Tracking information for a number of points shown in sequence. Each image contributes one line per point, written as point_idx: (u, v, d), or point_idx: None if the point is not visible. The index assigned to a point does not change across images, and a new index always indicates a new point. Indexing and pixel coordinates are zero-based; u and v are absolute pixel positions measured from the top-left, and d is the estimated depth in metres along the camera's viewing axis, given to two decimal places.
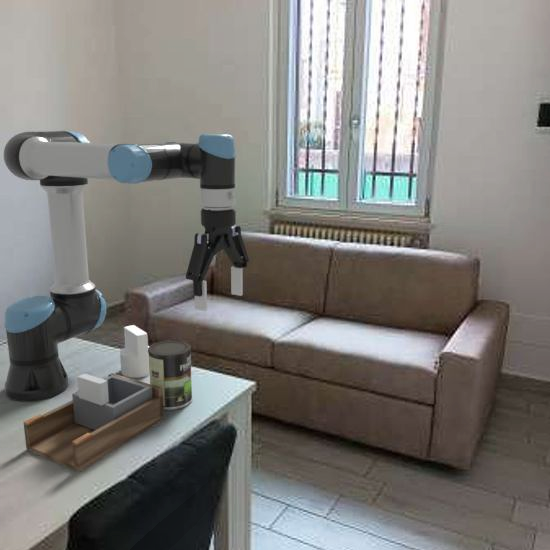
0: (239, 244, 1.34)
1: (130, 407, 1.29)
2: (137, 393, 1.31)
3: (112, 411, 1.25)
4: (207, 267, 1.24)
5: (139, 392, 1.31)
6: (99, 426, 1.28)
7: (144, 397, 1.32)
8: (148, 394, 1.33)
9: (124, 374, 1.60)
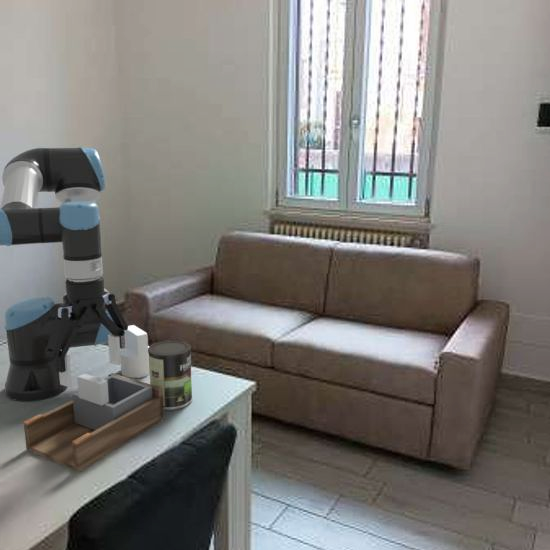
0: (114, 312, 1.28)
1: (130, 407, 1.29)
2: (137, 393, 1.31)
3: (112, 411, 1.25)
4: (70, 341, 1.18)
5: (139, 392, 1.31)
6: (99, 426, 1.28)
7: (144, 397, 1.32)
8: (148, 394, 1.33)
9: (124, 374, 1.60)
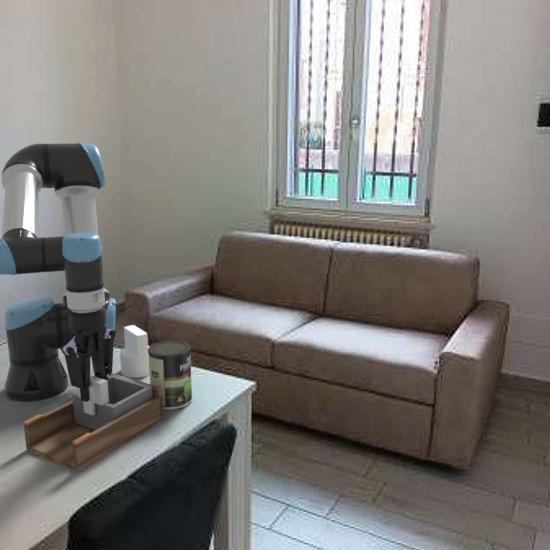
0: (108, 349, 1.28)
1: (130, 407, 1.29)
2: (137, 393, 1.31)
3: (112, 411, 1.25)
4: (88, 372, 1.24)
5: (139, 392, 1.31)
6: (99, 426, 1.28)
7: (144, 397, 1.32)
8: (148, 394, 1.33)
9: (124, 374, 1.60)
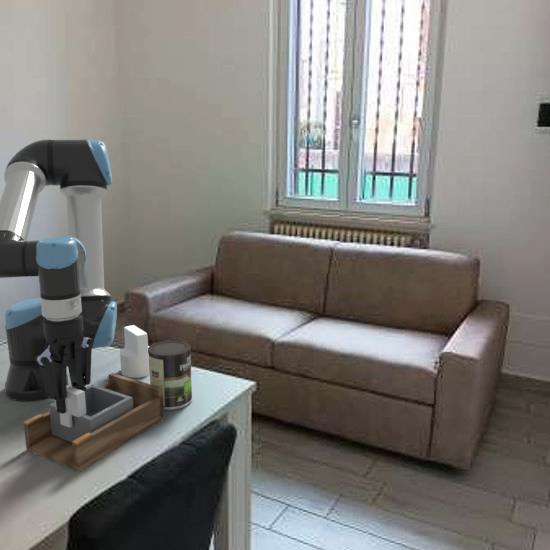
0: (85, 359, 1.23)
1: (109, 418, 1.24)
2: (116, 404, 1.26)
3: (89, 423, 1.19)
4: (64, 382, 1.19)
5: (119, 403, 1.26)
6: None
7: (124, 408, 1.27)
8: (128, 405, 1.28)
9: (124, 374, 1.60)
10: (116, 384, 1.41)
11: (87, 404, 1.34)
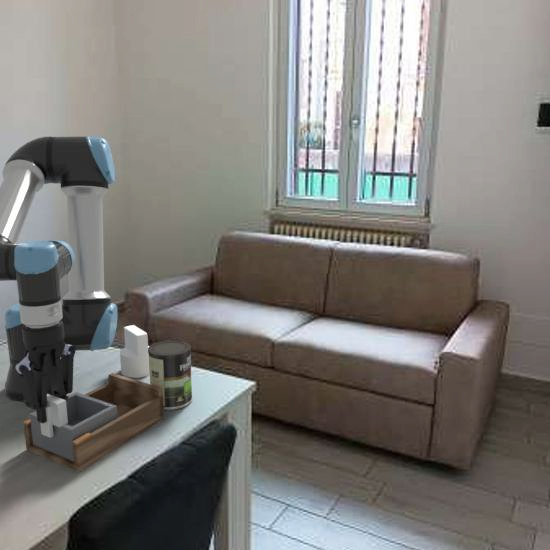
0: (67, 366, 1.19)
1: (92, 428, 1.20)
2: (100, 413, 1.22)
3: (71, 433, 1.16)
4: (44, 391, 1.15)
5: (102, 412, 1.22)
6: (58, 449, 1.19)
7: (107, 417, 1.23)
8: (112, 414, 1.24)
9: (124, 374, 1.60)
10: (116, 384, 1.41)
11: (70, 412, 1.30)
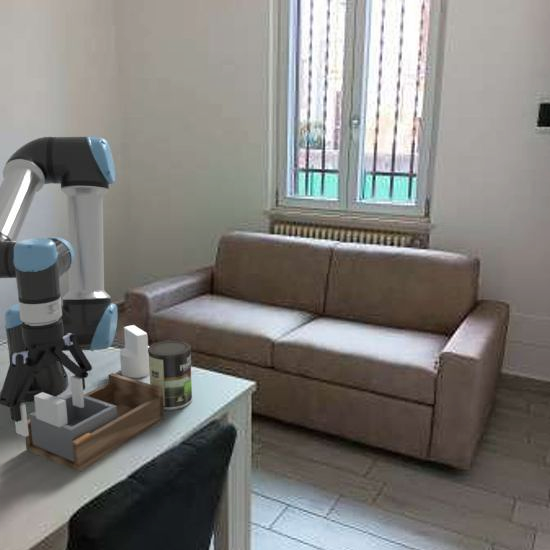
0: (76, 353, 1.21)
1: (92, 428, 1.20)
2: (99, 413, 1.22)
3: (70, 434, 1.16)
4: (26, 389, 1.11)
5: (102, 412, 1.22)
6: (58, 449, 1.19)
7: (107, 417, 1.23)
8: (112, 414, 1.24)
9: (124, 374, 1.60)
10: (116, 384, 1.41)
11: (70, 413, 1.30)
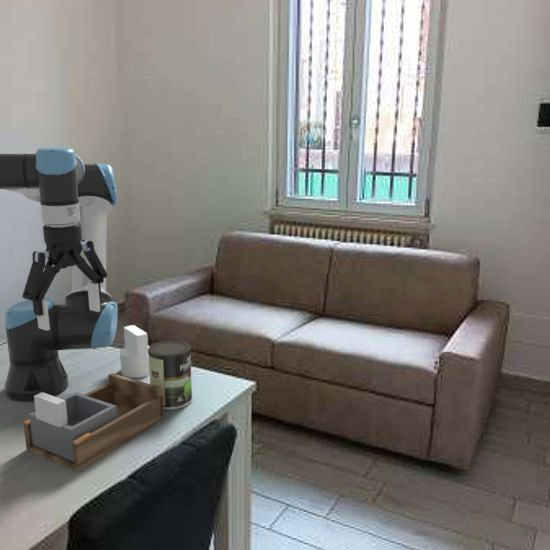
0: (93, 259, 1.30)
1: (92, 428, 1.20)
2: (99, 413, 1.22)
3: (70, 434, 1.16)
4: (47, 286, 1.20)
5: (102, 412, 1.22)
6: (58, 449, 1.19)
7: (107, 417, 1.23)
8: (112, 414, 1.24)
9: (124, 374, 1.60)
10: (116, 384, 1.41)
11: (70, 413, 1.30)
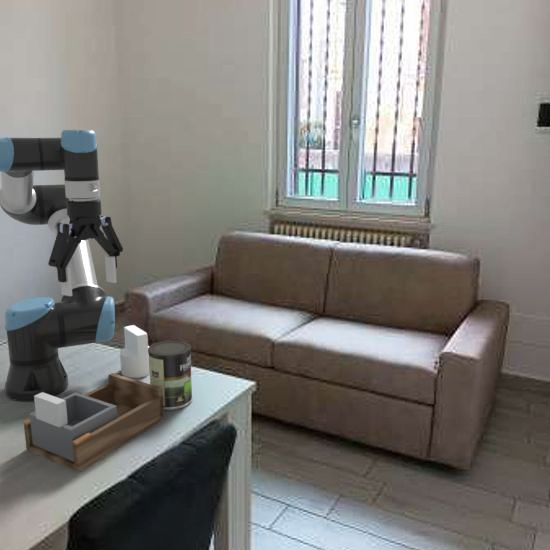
0: (110, 234, 1.42)
1: (92, 428, 1.20)
2: (99, 413, 1.22)
3: (70, 434, 1.16)
4: (71, 255, 1.32)
5: (102, 412, 1.22)
6: (58, 449, 1.19)
7: (107, 417, 1.23)
8: (112, 414, 1.24)
9: (124, 374, 1.60)
10: (116, 384, 1.41)
11: (70, 413, 1.30)
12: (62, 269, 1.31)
